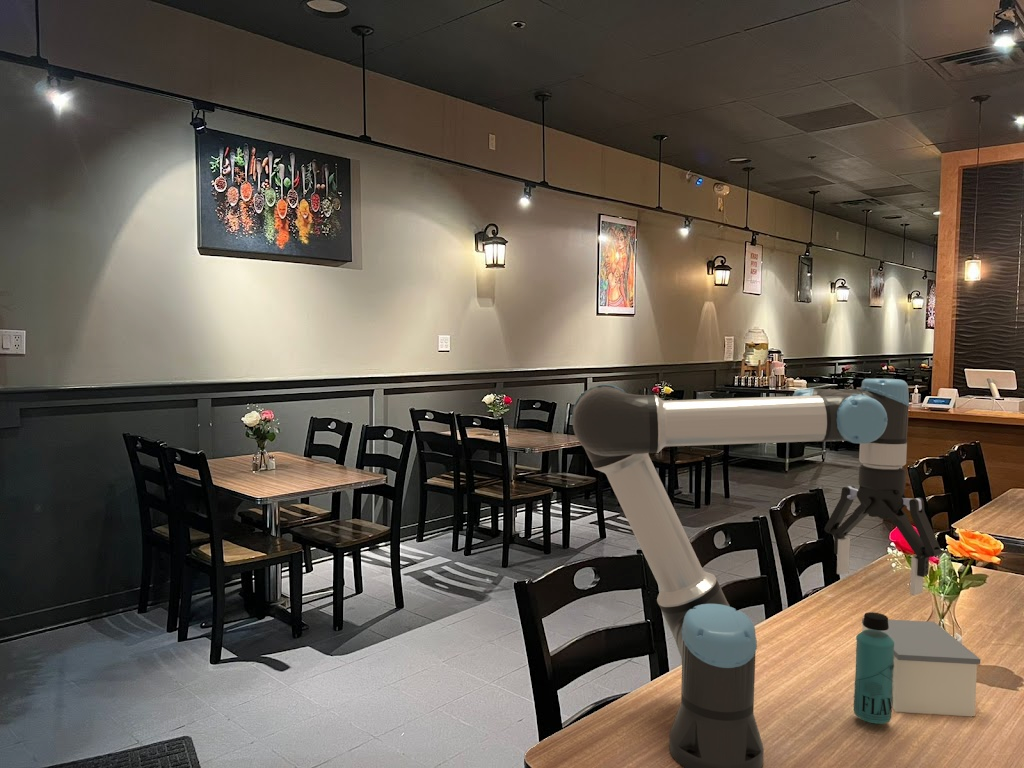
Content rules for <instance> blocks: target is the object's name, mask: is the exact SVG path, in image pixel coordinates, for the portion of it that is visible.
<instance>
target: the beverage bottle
mask: <svg viewBox="0 0 1024 768" xmlns="http://www.w3.org/2000/svg"><path fill="white" fill-rule="evenodd" d="M863 618H864V621H863V623H862V624H863V625H864V626H865V627H867V628H869V629H873V630H864V631H861V632H858V634H857V635H856V638H855V640H856V645H855V646H856V650H855V652H856V653H855V677H854V689H853V699H852V700H853V713H854V714H855V716H856V717H857V718H859V720H863V721H864V722H866V723H871V724H877V725H879V724H881V725H884V724H887V723H889V722H891V719H892V717H893V708H892V705H893V693H892V686H893V678H894V677H893V676H894V675H893V673H894V672H893V671H894V670H893V669H894V668H893V667H894V666H893V664H894V661H893V660H894V657H895V656H894V641H893V640H892V638H891V637H890V636H889V635H888V634H886V633H884V632H882V631H884V630H888V629H889V625H888V619H889V617H888V616H887V615H885V614H883V613H881V612H874V611H873V612H871V611H870V612H865V613H864V615H863ZM878 630H879V631H878Z"/></svg>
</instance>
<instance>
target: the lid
mask: <svg viewBox="0 0 1024 768" xmlns="http://www.w3.org/2000/svg"><path fill="white" fill-rule="evenodd" d="M863 621H864V617H862V618H861V623H862V624H863ZM888 625H889V629H888V630H884V631H882V632H884V633H886V634H888V635H889V636H890V637H891V638H892V640H893V641H894V656H895V657H896V658H897V659H898V660H908V661H927V662H945V663H963V664H977V665H981V660H982V659H981V658H980V657H978V656H977V655H976V654H975V653H974V652H972V651H971V650H970V649H969V648H968V647H966V646H965V645H963V643H962V644H961V643H960V642H959V641H957V640H956V639H955V638H954V637H953V636H951V635H950V634H949V633H948V632H946V631H945V630H944V628H943V627H941V626H940V625H939V624H937V622H935V621H931V620H930V621H928V620H927V621H925V620H906V619H905V620H904V619H889V618H888ZM868 629H869V628H868ZM869 630H873V629H869ZM878 631H879V630H878Z"/></svg>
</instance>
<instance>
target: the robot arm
mask: <svg viewBox="0 0 1024 768" xmlns="http://www.w3.org/2000/svg"><path fill="white" fill-rule="evenodd" d="M909 393H910V392H909V385H908V383H907V382H906V381H905V380H903V379H897V378H896V379H895V378H865V379H863V380H862V381H861V386H860V389H858V388H857V389H831V388H830V389H826V388H823V389H822V388H813V387H811V388H808V389H807V388H806V389H805V388H804V389H797V390H795V392H794V393H793V394H792V396H790V395H789V396H788V395H787V396H762V397H756V396H755V397H734V398H731V397H729V398H728V397H727V398H706V399H705V398H704V399H700V398H699V399H698V398H697V399H678V400H677V399H674V400H663V399H662V398H660V397H659V396H658V395H656V394H632V393H627V392H626V391H624V389H622V388H620V387H618V386H616V385H612V384H611V385H610V384H600V385H599V384H598V385H596V386H593V387H590V388H589V389H587V390H585V391H583V393H582V394H581V395H579V397H578V398H577V400H576V401H574V402H575V403H574V405H573V408H572V414H571V416H572V417H571V419H572V428H573V433H574V435H575V438H576V439H577V441H578V442H579V443H580V445H581V446H582V448H583V449H584V450H585V453H586V455H587V457H588V459H589V461H590V463H591V465H592V467H593V469H594V470H596V471H599V472H600V473H603V474H605V475H606V477H607V480H608V482H609V484H610V486H611V488H612V490H613V492H614V495H615V497H616V499H617V501H618V503H619V505H620V508H621V509H622V511H623V513H624V515H625V518H626V520H627V522H628V524H629V526H630V528H631V530H632V532H633V535H634V536H635V539H636V541H637V543H638V546H639V547H640V549H641V552H642V554H643V555H644V558H645V559H646V561H647V564H648V566H649V568H650V570H651V572H652V574H653V575H652V576H653V577H654V579H655V581H656V583H657V585H658V587H659V593H658V594H657V599H656V602H657V604H658V606H659V609H660V610H661V613H662V615H663V617H664V619H665V621H666V624H667V625H668V627H669V630H670V633H672V637H673V638H674V639H673V640H674V642H675V644H676V647H677V650H678V653H679V656H680V659H681V686H680V687H681V691H680V692H681V695H680V696H681V697H680V705H679V708H678V711H677V713H676V716H675V718H674V721H673V723H672V726H671V729H670V732H669V742H668V743H669V746H668V747H669V753H670V755H671V756H672V758H673V759H674V760H675V761H676V762H677V763H678V764H679V765H680V766H682V767H684V768H762V767H763V765H764V755H765V753H764V749H765V748H764V745H763V741H762V738H761V734H760V730H759V727H758V725H757V719H756V717H755V715H754V710H755V709H754V706H755V703H754V701H755V683H756V682H755V675H756V653H757V652H756V651H757V648H758V647H757V645H758V644H757V643H758V641H757V637H756V636H757V634H756V627H755V624H754V622H753V621H752V619H751V618H750V616H748V615H747V614H746V613H744V612H743V611H741V610H737V609H736V608H734V607H732V606H730V603H729V602H728V601H727V598H726V595H725V594H724V591H723V590H722V587H721V585H720V584H719V582H718V579H717V577H716V576H715V574H713V573H710V572H708V571H705V570H704V568H703V567H702V565H701V563H700V561H699V558H698V557H697V555H696V552H695V550H694V548H693V546H692V543H691V542H690V539H689V538H688V535H687V533H686V530H685V529H684V527H683V525H682V522H681V520H680V518H679V516H678V515H677V512H676V510H675V508H674V506H673V504H672V502H671V499H670V496H669V495H668V493H667V491H666V488H665V487H664V484H663V482H662V480H661V477H660V475H659V474H658V472H657V470H656V467H655V466H654V463H653V462H652V461H653V460H652V459H651V457H650V454H657V453H658V454H659V452H661V451H662V449H664V448H666V447H685V446H687V447H689V446H690V447H691V446H713V445H714V446H715V445H716V446H718V445H745V444H750V445H751V444H771V443H772V444H773V443H776V444H778V443H798V442H799V443H800V442H801V443H805V442H846V441H847V442H849V443H852V444H859V455H858V456H859V457H858V461H859V462H860V463H861V464H860V466H859V467H858V486H859V488H858V489H857V488H856V487H855V486H854V485H848V486H844V487H842V489H841V495H840V499H839V500H838V503H837V504H836V506H835V508H834V510H833V511H832V513H831V515H830V517H829V519H828V520H827V522H826V524H825V526H824V528H823V529H824V530H823V531H825V533H828V534H830V535H832V536H833V552H834V555H836V556H837V557H836V559H837V560H836V574H837V575H840V576H841V575H844V574H848V573H849V572H850V551H851V549H850V548H851V547H850V546H851V538H850V537H847V536H848V534H849V533H850V532H851V531H852V530H853V529H854V528H855V527H856V526H857V525H858V524H859V523H860V522H861V521H863V520H864V518H865V517H866V516H869V517H871V518H872V517H873V518H874V517H875V518H876V517H877V518H879V519H881V520H890V522H891V523H892V524H893V525H895V526H896V528H897V530H898V531H899V533H900V534H901V536H902V537H903V538H904V540H905V541H906V543H907V544H908V546H909V547H910V548H911V550H912V552H913V553H914V554H915V555H913V556H911V559H910V585H909V587H910V588H909V595H911V596H913V597H914V596H917V595H920V594H923V591H924V589H923V588H924V577H928V575H929V569H930V568H929V567H930V566H929V565H930V558H934V557H937V556H940V555H942V549H941V547H940V544H939V541H938V540H937V537H936V535H935V532H934V529H933V528H932V526H931V523H930V521H929V518H928V516H927V514H926V512H925V511H926V510H925V502H924V498H922V497H916V498H908V497H906V495H905V490H906V480H907V470H906V469H905V468H904V466H905V465H907V450H908V439H907V437H908V424H909V408H910V394H909ZM856 499H858V501H859V503H860V505H858V506H857V507H856V508H855V509H854V511H853V513H851V515H850V516H849V517H847V518H846V519H845V520H844V518H845V516H846V514H847V513H848V511H849V509H850V508H851V507H852V504H853V502H854V500H856ZM905 506H906V509H907V510H908V511H909V512H910V516H911V519H912V521H913V523H914V526H915V527H914V526H913V525H912V523H911V522H910V521H909V519H908V518H909V516H908V515H907V514H906V512H905V511H904V508H905ZM843 521H844V522H843ZM915 528H916V529H915Z"/></svg>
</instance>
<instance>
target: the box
mask: <svg viewBox="0 0 1024 768" xmlns="http://www.w3.org/2000/svg"><path fill="white" fill-rule="evenodd" d="M861 630H862V631H864V630H869V629H868V628H867V627H865V626H864V625H863V623H862V629H861ZM862 631H861V632H862ZM893 661H894V664H893V666H894V667H893V668H894V669H893V670H894V671H893V672H894V673H893V675H894V676H893V677H894V678H893V686H892V693H893V705H892V711H893V710H894V712H896V713H908V714H909V713H910V714H925V715H927V714H928V715H940V716H941V715H942V716H943V715H945V716H959V717H972V716H976V697H977V675H978V673H977V672H978V671H977V670H978V664H963V663H945V662H927V661H908V660H898V659H897V658H896V657H894V660H893Z"/></svg>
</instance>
